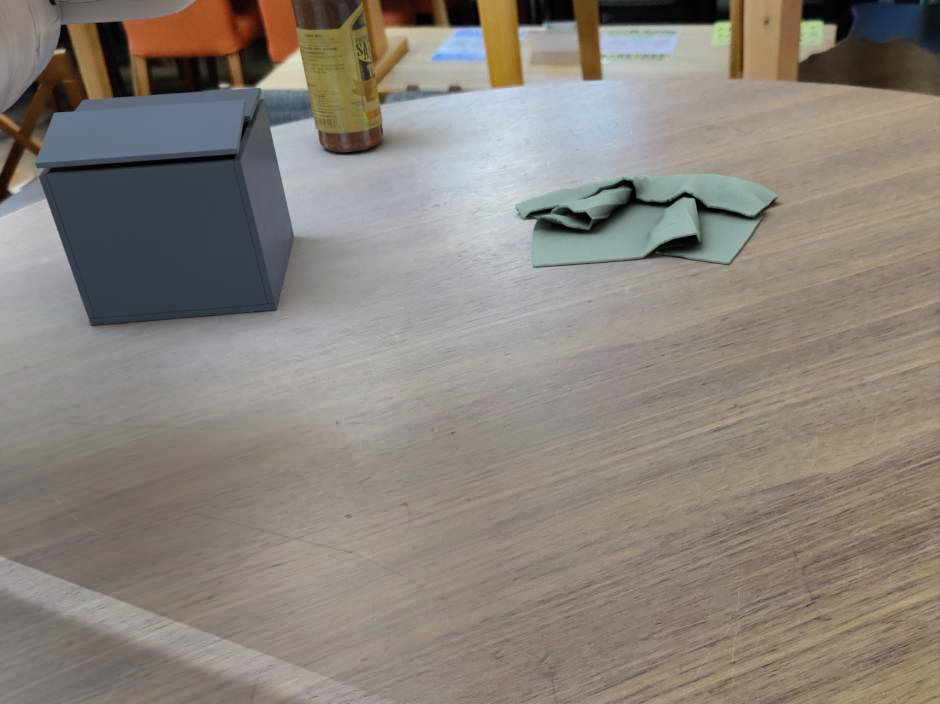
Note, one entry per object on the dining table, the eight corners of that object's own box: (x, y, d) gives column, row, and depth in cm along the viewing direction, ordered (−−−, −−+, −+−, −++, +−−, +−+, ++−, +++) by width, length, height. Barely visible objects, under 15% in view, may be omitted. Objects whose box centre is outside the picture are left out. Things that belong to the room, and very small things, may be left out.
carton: (276, 310, 86) (237, 148, 79) (90, 325, 85) (33, 163, 78) (294, 235, 97) (261, 87, 90) (129, 248, 96) (82, 99, 89)
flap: (238, 154, 79) (236, 148, 79) (37, 168, 78) (34, 163, 78) (246, 104, 84) (245, 99, 83) (55, 118, 83) (53, 112, 82)
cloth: (806, 194, 100) (808, 164, 99) (691, 298, 86) (691, 265, 84) (593, 162, 108) (591, 134, 106) (454, 252, 93) (450, 221, 92)
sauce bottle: (389, 150, 112) (349, -97, 99) (321, 158, 111) (272, -90, 98) (382, 129, 117) (343, -109, 104) (317, 137, 116) (269, -103, 103)
